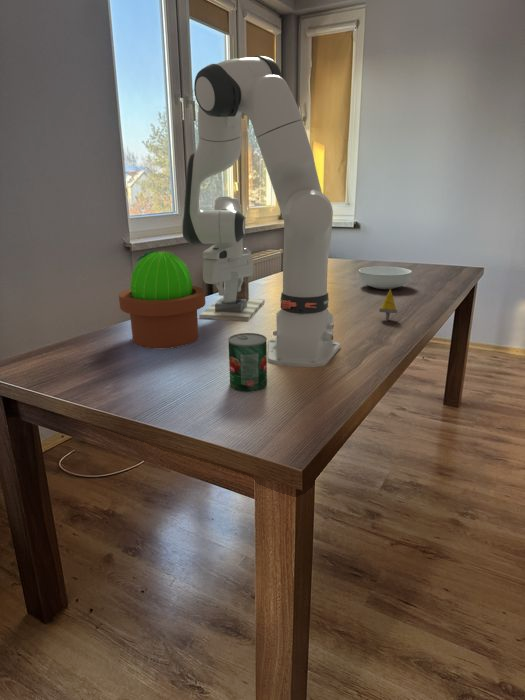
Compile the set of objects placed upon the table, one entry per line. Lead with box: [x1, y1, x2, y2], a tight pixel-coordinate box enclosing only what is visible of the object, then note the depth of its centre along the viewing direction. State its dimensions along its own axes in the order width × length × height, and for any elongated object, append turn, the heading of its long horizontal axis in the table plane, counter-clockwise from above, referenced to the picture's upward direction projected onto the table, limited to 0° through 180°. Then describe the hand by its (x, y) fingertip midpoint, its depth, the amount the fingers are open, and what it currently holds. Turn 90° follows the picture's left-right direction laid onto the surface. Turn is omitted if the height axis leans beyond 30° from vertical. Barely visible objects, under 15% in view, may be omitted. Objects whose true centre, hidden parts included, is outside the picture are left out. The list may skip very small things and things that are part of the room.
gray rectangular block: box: [222, 272, 239, 304], centre depth 156 cm, size 4×4×10 cm
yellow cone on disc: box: [378, 289, 398, 322], centre depth 148 cm, size 5×5×10 cm
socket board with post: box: [198, 276, 266, 322], centre depth 160 cm, size 24×16×16 cm, turn 168°
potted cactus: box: [118, 250, 206, 349], centre depth 129 cm, size 22×22×25 cm
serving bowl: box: [358, 266, 413, 290], centre depth 195 cm, size 21×21×7 cm
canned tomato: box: [227, 332, 268, 393], centre depth 100 cm, size 8×8×11 cm
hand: (230, 293), depth 157 cm, fingers closed on gray rectangular block, 6 cm apart
